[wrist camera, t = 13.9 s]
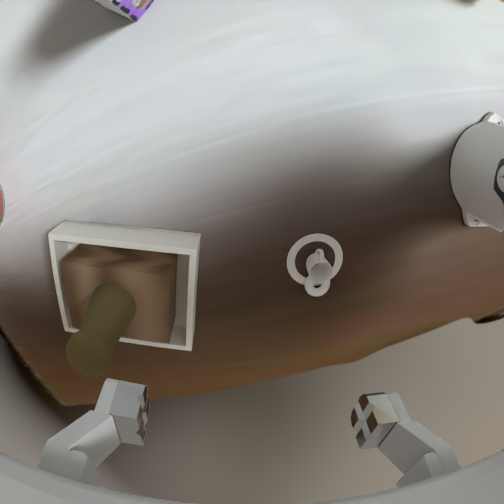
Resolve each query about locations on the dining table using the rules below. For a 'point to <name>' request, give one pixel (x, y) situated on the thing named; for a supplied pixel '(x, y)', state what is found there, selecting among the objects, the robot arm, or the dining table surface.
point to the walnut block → (125, 286)
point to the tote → (137, 238)
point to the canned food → (1, 205)
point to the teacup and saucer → (316, 272)
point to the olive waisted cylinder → (100, 330)
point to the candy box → (127, 7)
